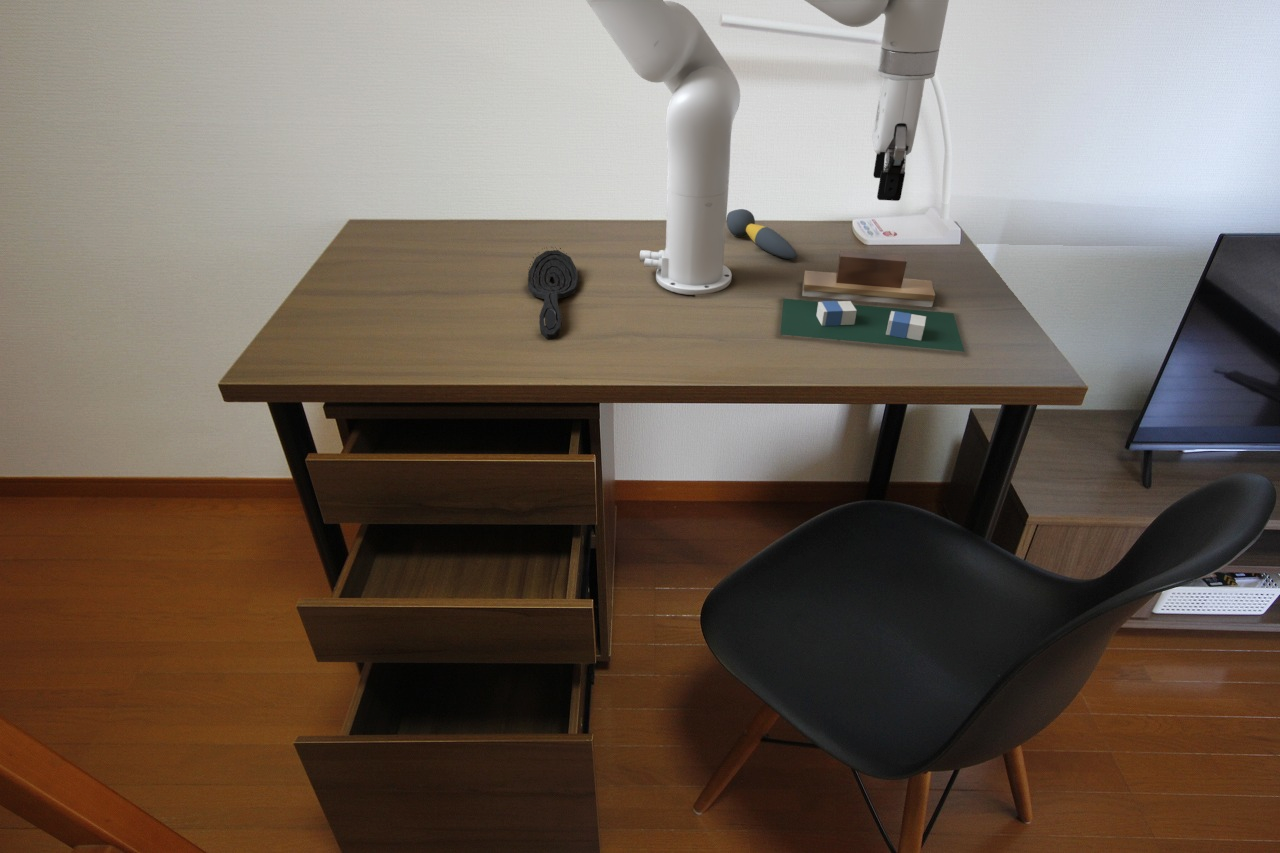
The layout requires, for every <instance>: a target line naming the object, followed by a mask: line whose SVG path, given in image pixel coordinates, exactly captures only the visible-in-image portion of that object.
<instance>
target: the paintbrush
mask: <svg viewBox="0 0 1280 853" xmlns="http://www.w3.org/2000/svg"><path fill="white" fill-rule="evenodd" d="M755 222H756V220H755V216H754V214H753V213H752V212H751V211H750V210H748V209H744V208H738V209H734V210H731V211H729V212H727V216H726V227H727V229H728V231H729V232H730V234H732V235H733V236H735V237H739V238H742V237H747V236H749V238H750V240H752V242H753V243H754V244H755V245H756V246H757V247H758V248H760V249H761V250H763V251H765V252H766V253H769V254H771V255H773V256H776V257H779V258H782V259H784V260H791V261H792V260H796V259H797V258H798V253H797V252H796V249H795V247H794V246H793V245H792V244H791V243H790V242H789V241H788V240H787V239H786V238H784V236H782V235H781V234H779V233H778V232H777V231H775V230H774V229H772V228H770V227H769V226H764V225H760V224H756V223H755Z"/></svg>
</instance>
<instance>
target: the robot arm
mask: <svg viewBox="0 0 1280 853" xmlns="http://www.w3.org/2000/svg"><path fill="white" fill-rule="evenodd" d="M585 1H586V2H587V4H588V6H589V7H590V8H591V9H592V11H593V12H594V13H595V15H596V16H597V19H598V20H599V21H600V23H601V24H602V26H603V27H604V29H605V30H606V32H607V33H608V34H609V36H610V38H611V39H612V41H613V42H614V43H615V45H616V46H617V47H618V49H619V50H620V51H621V53H622V54H623V56H624V57H625V59H626V60H627V62H628V63H629V65H630V67H631V68H632V69H633V70H634V72H635V73H636V74H637V75H638V76H639V77H641V78H642V79H643V80H646V81H647V82H650V83H656V84H657V83H659V84H660V83H664V84H665V86H666V87H667V89H668V90H669V92H670V93H671V94H672V95H671V97H670V100H669V101H668V102H669V103H668V105H667V111H666V115H665V137H666V154H667V155H666V156H667V159H666V160H667V162H666V163H667V164H666V165H667V167H666V168H667V171H666V172H667V175H666V177H667V178H666V179H667V180H666V187H667V188H666V226H665V228H666V230H665V248H664V249H659V250H658V251H652V250H645V249H643V250H642V249H641V250H640V252H639V263H640V262H641V263H643V266H644V268H657V269H656V270H655V280H656V282H657V283H658V285H659V286H660V287H662V288H663V289H665V290H667V291H669V292H671V293H676V294H681V295H686V296H687V295H688V296H696V295H707V294H713V293H716V292H719V291H721V290H724V289H726V288H728V287H729V285H730V284H731V283H732V276H733V275H732V271H731V269H730V268H729V267H727V266H726V265H724V256H725V243H726V230H727V229H726V228H727V221H726V220H727V215H728V202H729V199H728V198H729V185H730V184H729V183H730V169H731V144H732V143H731V142H732V131H733V130H732V129H733V124H734V120H735V118H736V115H737V113H738V110H739V107H740V103H741V89H740V84H739V82H738V79H737V77H736V75H735V74H734V72H733V71H732V69H731V67H730V65H729V64H728V62H727V61H726V60H725V58H724V57H723V55H722V53H720V52H721V51H719V49H718V47H717V46H716V45H715V43H714V42H713V41H712V38H710V36H709V34H708V33H707V32H706V30H705V28H704V27H703V26H702V23H700V21H699V20H698V18H697V17H696V16H695V15H694V13H693V12H692V11H691V10H689V8H688V7H687V6H684V5H683V4H681V3H679V2H675V1H672V0H585ZM804 1H805V2H806V3H807V4H809V5H810V6H813V7H814V8H815V9H818V11H819V12H822V13H823V14H825V15H826V16H827V17H830V18H831V19H832V20H834V21H836V22H838V23H839V24H841V25H843V26H846V27H849V28H859V27H860V28H861V27H864V26H868V25H870V24H871V23H874V22H875V21H876V20H877V19H878V18H879V17H880V16H881V15H884V16H885V19H884V27H883V32H882V33H883V34H882V38H881V45H880V52H879V59H878V64H877V71H876V74H877V75H878V76H880V77H882V81H881V85H880V86H881V87H880V91H879V96H878V103H877V108H876V114H875V120H874V124H873V129H872V136H871V140H872V145H873V150H874V152H875V153H876V157H875V163H874V168H873V178H875V179H879V182H878V188H877V194H876V198H877V200H878V201H892V202H894V201H895V202H899V201H900V200H901V198H902V192H903V187H904V182H905V176H906V163H907V156H908V155H909V154H911V153H912V150H913V148H914V142H915V137H916V134H917V133H916V132H917V127H918V122H919V117H920V112H921V106H922V101H923V94H924V88H925V84H926V83H925V82H926V80H929V79H933V78H935V76H936V75H935V74H936V70H937V64H938V59H939V55H940V54H939V53H940V48H941V45H942V44H941V42H942V39H943V32H944V29H945V28H944V27H945V22H946V17H947V12H948V6H949V2H950V0H804Z"/></svg>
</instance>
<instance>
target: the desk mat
mask: <svg viewBox="0 0 1280 853" xmlns="http://www.w3.org/2000/svg"><path fill="white" fill-rule="evenodd" d="M818 302H819V301H815V300H803V299H791V298H783V300H782V310H781V311H782V312H781V323H780V333H779V334H780V336H792V337H802V338H812V339H813V338H814V339H824V340H835V341H843V342H857V343H866V344H877V345H886V346H897V347H898V346H900V347H909V348H919V349H931V350H944V351H952V352H963V353H965V352H966V351H965V348H964V345H963V341H962V339H961V334H960V332H959V327H958V324H957V322H956V318H955V314H954V313H953V312H944V311H932V310H920V309H907V308H897V307H888V306H887V307H886V306H885V307H884V306H876V305H875V306H874V305H863V304H862V305H861V304H853V305H854V307H855V309H856V310H857V312H856V318H855V323H854V325H840V326H822V325H821V323H820V322H819V320H818V318H817V316H816V314H817V308H818ZM891 311H898V312H904V313H910V314H914V315H920V316H926V322H925V327H924V331H923V335H922V339H921V341H920V340H914V339H908V338H900V337H894V336H890V335H886V332H887V327H888V322H889V318H890V314H891Z"/></svg>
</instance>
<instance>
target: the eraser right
mask: <svg viewBox="0 0 1280 853" xmlns="http://www.w3.org/2000/svg"><path fill="white" fill-rule="evenodd" d="M925 322H926V316H920V315H914V314H910V313H904V312H898V311H891V314H890V318H889V322H888V327H887V332H886V335H890V336H894V337H900V338H908V339H914V340H920V341H921V339H922V335H923V331H924V327H925Z"/></svg>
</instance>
